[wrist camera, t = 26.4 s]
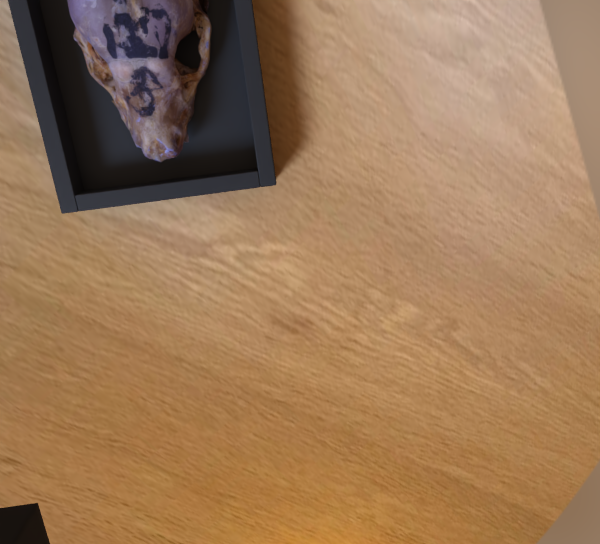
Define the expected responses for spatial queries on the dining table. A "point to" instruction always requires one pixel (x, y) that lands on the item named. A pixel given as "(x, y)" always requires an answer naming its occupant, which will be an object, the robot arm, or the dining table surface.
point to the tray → (114, 133)
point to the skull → (145, 64)
